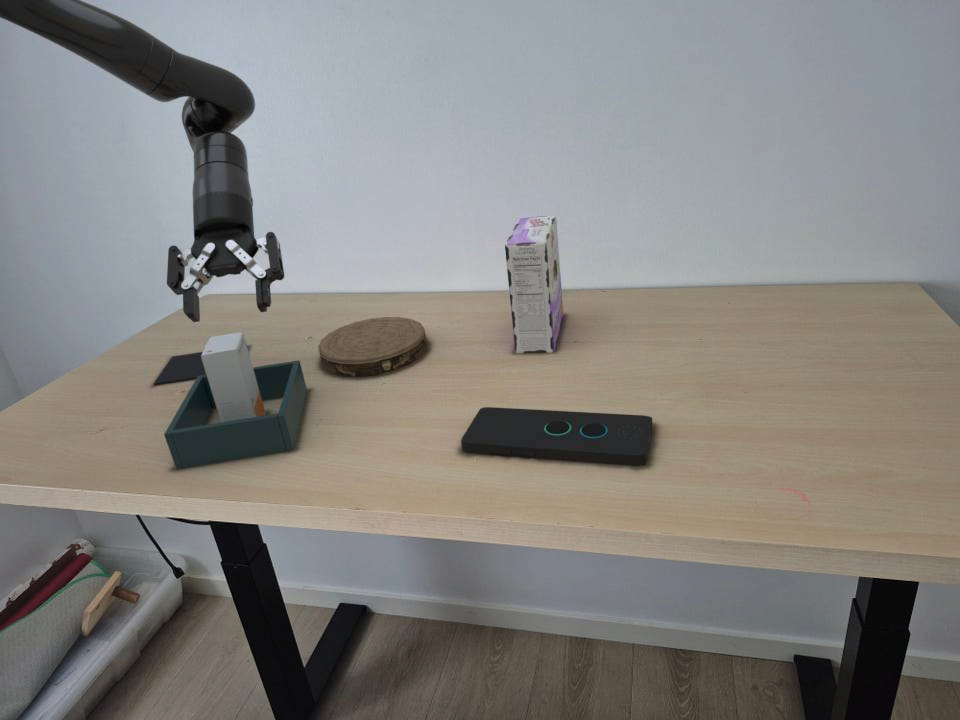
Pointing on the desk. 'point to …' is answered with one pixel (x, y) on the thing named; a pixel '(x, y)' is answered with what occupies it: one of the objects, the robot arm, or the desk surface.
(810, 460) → the desk surface
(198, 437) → the storage box
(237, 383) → the cosmetic box
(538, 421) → the smart home device
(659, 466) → the desk surface
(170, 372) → the desk pad
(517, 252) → the candy box
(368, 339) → the brown flat disc
